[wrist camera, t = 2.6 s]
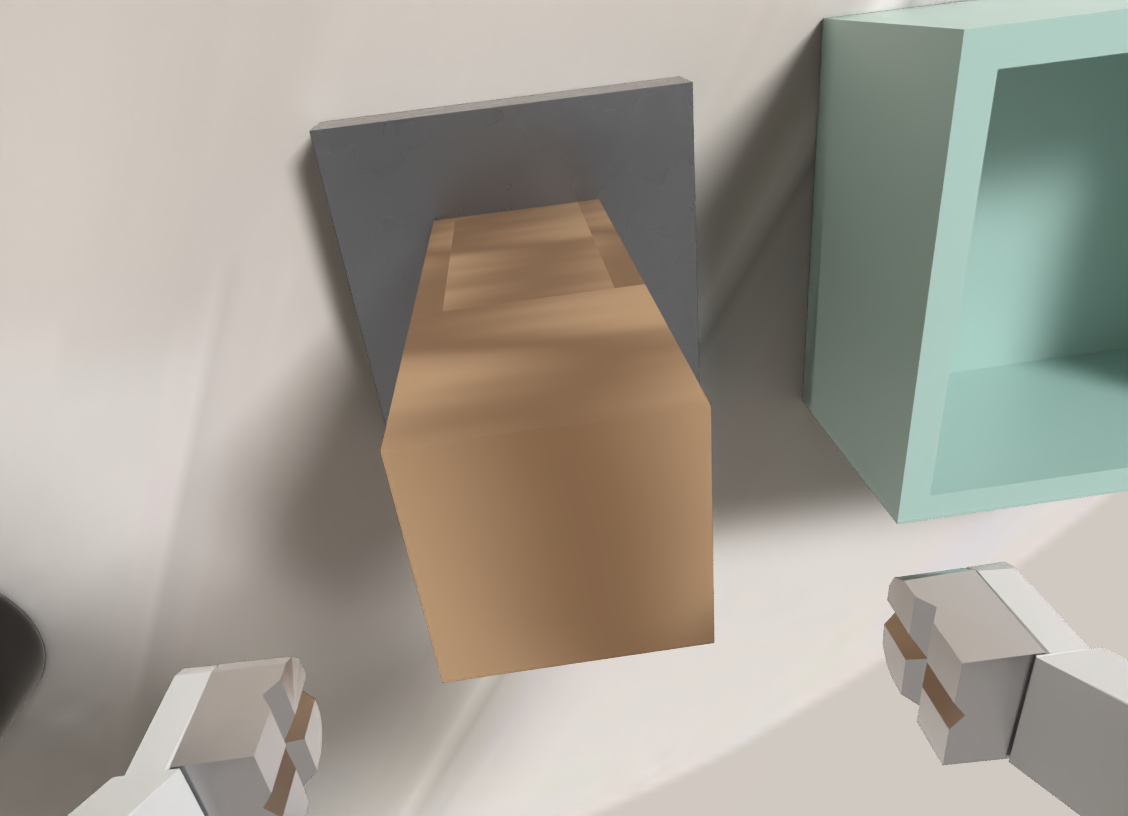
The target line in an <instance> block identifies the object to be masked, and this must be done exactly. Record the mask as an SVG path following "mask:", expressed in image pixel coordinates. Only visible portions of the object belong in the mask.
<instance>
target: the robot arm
mask: <svg viewBox="0 0 1128 816" xmlns="http://www.w3.org/2000/svg"><path fill="white" fill-rule="evenodd" d="M887 600H888V602H889V603H890V605H891V607H892V608H893V610H894V611H895V613H894V614H893V615H892V617H891V618H890V619H889V620H888V621H887V622H886V623H885V624H884V634H883V647H884V653H885V658H886V663H887V666H888V669H889V671H890V674H891V676H892V679H893V681H894V682H895V684H896V686H897V688H898V690H899V691H900V693H901V694H902V695H904V696H905V697H907V698H908V699H910V700H911V701H913V702H915V703H916V704H918V705H919V712H918V719H917V723H918V724H919V726H920V727H921V729H922V731H923V733H924V734H925V736H926V738H927V740H928V741H929V743H930V745H931V746H932V748H933V750H934V752H935V753H936V755H937V757H938V758H939V760H940V762H941V763H942V765H949V764H959V763H969V762H978V761H987V760H998V759H1007V758H1010V759H1009V762H1010V763H1011V764H1013V765H1014V766H1015V767H1016V768H1018V769H1019V770H1021V771H1022V772H1023V773H1024V774H1026V775H1027V776H1028V777H1030V778H1031V779H1032V780H1034V781H1035V782H1037V783H1038V784H1039V785H1040V786H1042V787H1043V788H1045V789H1046V790H1047V791H1048V792H1050V793H1051V794H1052V795H1054V796H1055V797H1056V798H1058V799H1059V800H1060V801H1062V802H1063V803H1064V804H1066V805H1067V806H1068V807H1070V808H1071V809H1072V810H1074V811H1075V812H1076V813H1078V814H1079V815H1080V816H1128V659H1125V658H1123V657H1121V656H1119V655H1117V654H1115V653H1113V652H1110V651H1108V650H1106V649H1104V648H1102V647H1100V648H1091V649H1090V648H1089V647H1088V646H1087V645H1086V644H1085V643H1084V642H1083V641H1082V639H1081V638H1080V637H1079V636H1078V635H1077V634H1076V633H1075V632H1074V631H1073V630H1072V629H1071V628H1070V626H1069V625H1068V624H1067V623H1066V622H1065V621H1064V620H1063V619H1062V618H1061V617H1060V616H1059V615H1058V614H1057V612H1056V611H1055V610H1054V609H1053V608H1052V607H1051V606H1050V605H1049V604H1048V603H1047V602H1046V601H1045V600H1044V599H1043V597H1042V596H1041V595H1040V594H1039V593H1038V592H1037V591H1036V590H1035V589H1034V588H1033V587H1032V586H1031V584H1030V583H1029V582H1028V581H1027V580H1026V579H1025V578H1024V577H1023V576H1022V575H1021V574H1020V573H1019V571H1018V570H1017V569H1016V568H1015V567H1014V566H1012V565H1010V564H1008V563H1006V562H1000V563H993V564H986V565H979V566H972V567H967V568H960V569H953V570H945V571H938V572H931V573H924V574H917V575H910V576H902V577H895V578H894V579H893V580H892V582H891V584H890V585H889V592H888V599H887ZM305 679H306V673H305V671H304V669H303V666H302V664H301V662H300V659H299V658H296V657H292V656H291V657H281V658H272V659H262V660H253V661H243V662H234V663H224V664H220V665H214V666H204V667H194V668H184V669H183V670H181V671H180V672H179V673H178V674H177V675H175V676H174V678H173V679H172V681H171V683H170V685H169V687H168V689H167V691H166V693H165V695H164V697H163V699H162V701H161V703H160V705H159V707H158V709H157V711H156V713H155V715H154V717H153V719H152V721H151V723H150V725H149V727H148V729H147V731H146V733H145V735H144V737H143V739H142V741H141V743H140V745H139V747H138V749H137V751H136V753H135V755H134V757H133V759H132V761H131V763H130V765H129V767H128V769H127V771H126V773H125V775H124V776H118V777H112V778H111V779H110V780H109V781H107V782H106V783H105V784H104V785H103V786H102V787H100V788H99V789H98V790H97V791H96V792H95V793H93V794H92V795H91V796H90V797H89V798H88V799H86V800H85V801H84V802H83V803H82V804H81V805H79V806H78V807H77V808H76V809H75V810H74V811H72V812H71V813H70V814H69V815H68V816H306V813H307V809H308V805H309V800H308V797H307V795H306V792H305V790H304V787H303V786H304V785H305V783H306V782H307V781H308V780H309V779H310V778H311V777H312V776H313V775H314V774H315V773H316V771H317V769H318V764H319V760H320V756H321V751H322V722H321V716H320V711H319V708H318V705H317V703H316V700H315V698H313V697H312V696H310V695H308V694H307V693H305V692H304V691H302V689H303V686H304V683H305Z"/></svg>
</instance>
